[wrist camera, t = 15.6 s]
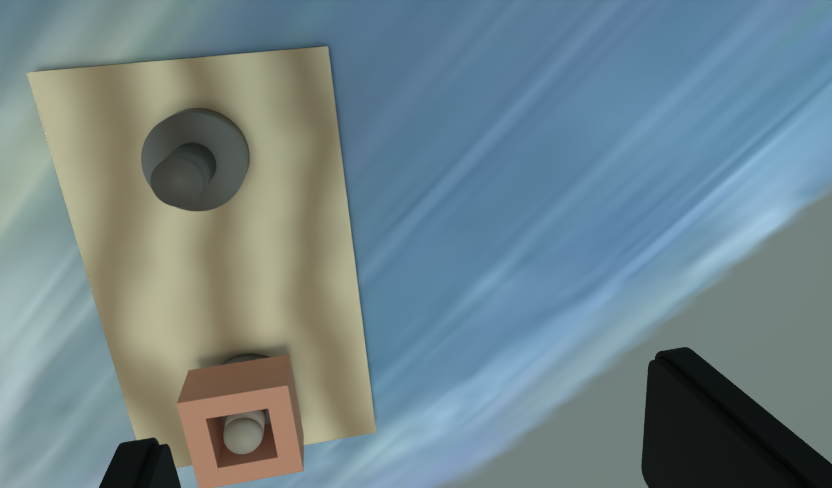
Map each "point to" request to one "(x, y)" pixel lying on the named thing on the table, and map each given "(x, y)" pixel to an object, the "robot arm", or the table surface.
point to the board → (214, 230)
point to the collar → (238, 393)
